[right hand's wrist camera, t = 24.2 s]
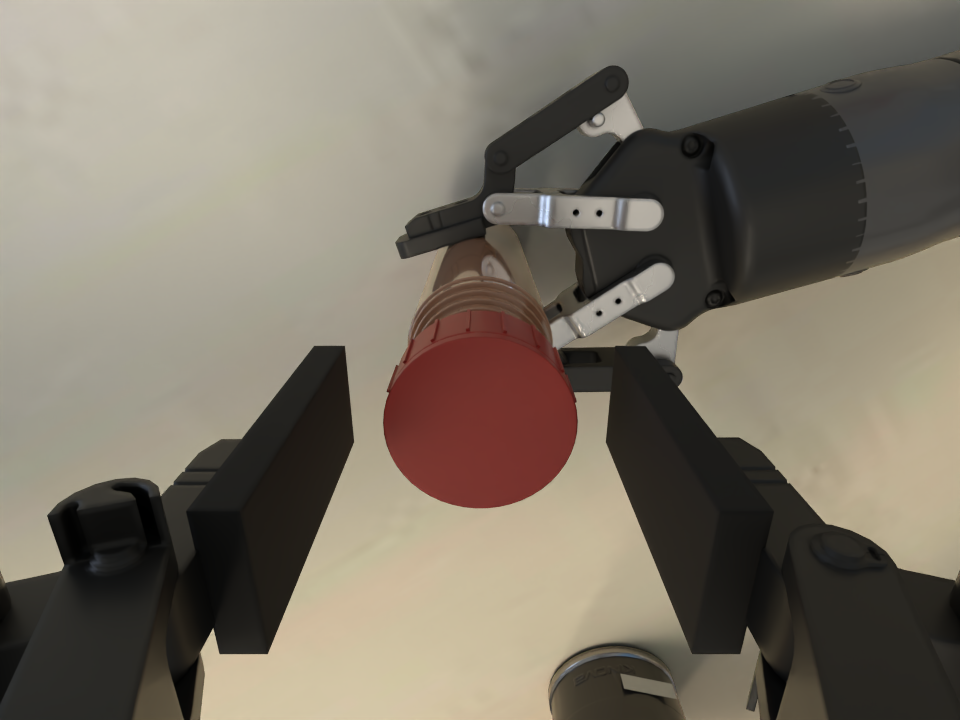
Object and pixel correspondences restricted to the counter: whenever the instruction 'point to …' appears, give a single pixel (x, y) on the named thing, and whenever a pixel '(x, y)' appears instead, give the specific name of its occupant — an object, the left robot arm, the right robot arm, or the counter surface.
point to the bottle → (481, 282)
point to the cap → (480, 410)
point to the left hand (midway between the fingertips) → (421, 302)
